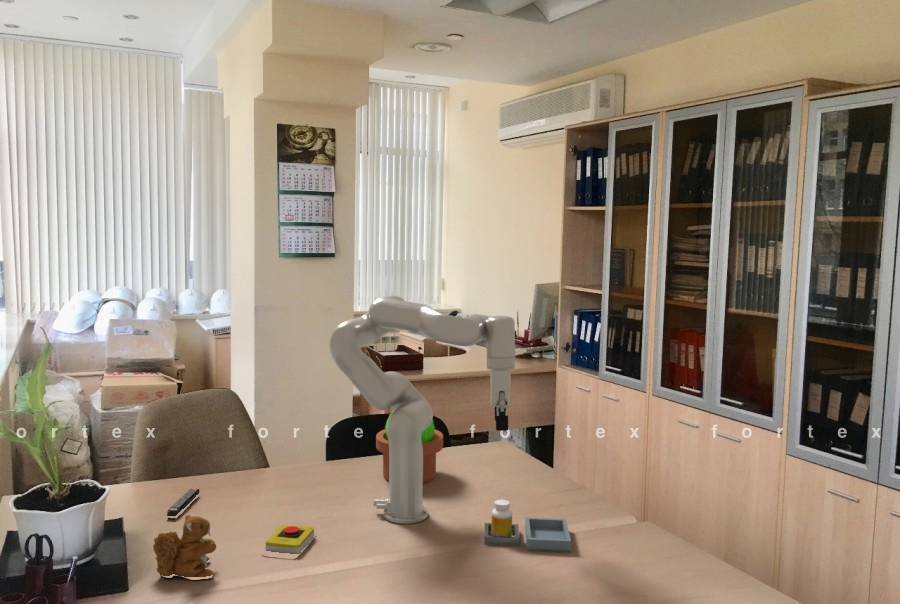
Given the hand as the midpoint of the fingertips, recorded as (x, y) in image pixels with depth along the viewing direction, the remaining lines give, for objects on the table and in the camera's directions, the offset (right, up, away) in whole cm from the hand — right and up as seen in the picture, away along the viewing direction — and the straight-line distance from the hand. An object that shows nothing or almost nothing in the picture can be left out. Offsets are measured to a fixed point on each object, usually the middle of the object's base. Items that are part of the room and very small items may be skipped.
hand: (501, 425), depth 192 cm
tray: (+12, -29, -4) cm, 32 cm away
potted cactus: (-27, -24, +44) cm, 57 cm away
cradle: (0, -29, -3) cm, 29 cm away
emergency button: (-55, -30, -10) cm, 63 cm away
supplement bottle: (0, -29, -3) cm, 30 cm away
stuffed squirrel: (-76, -30, -25) cm, 85 cm away
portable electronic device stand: (-90, -26, +14) cm, 95 cm away
